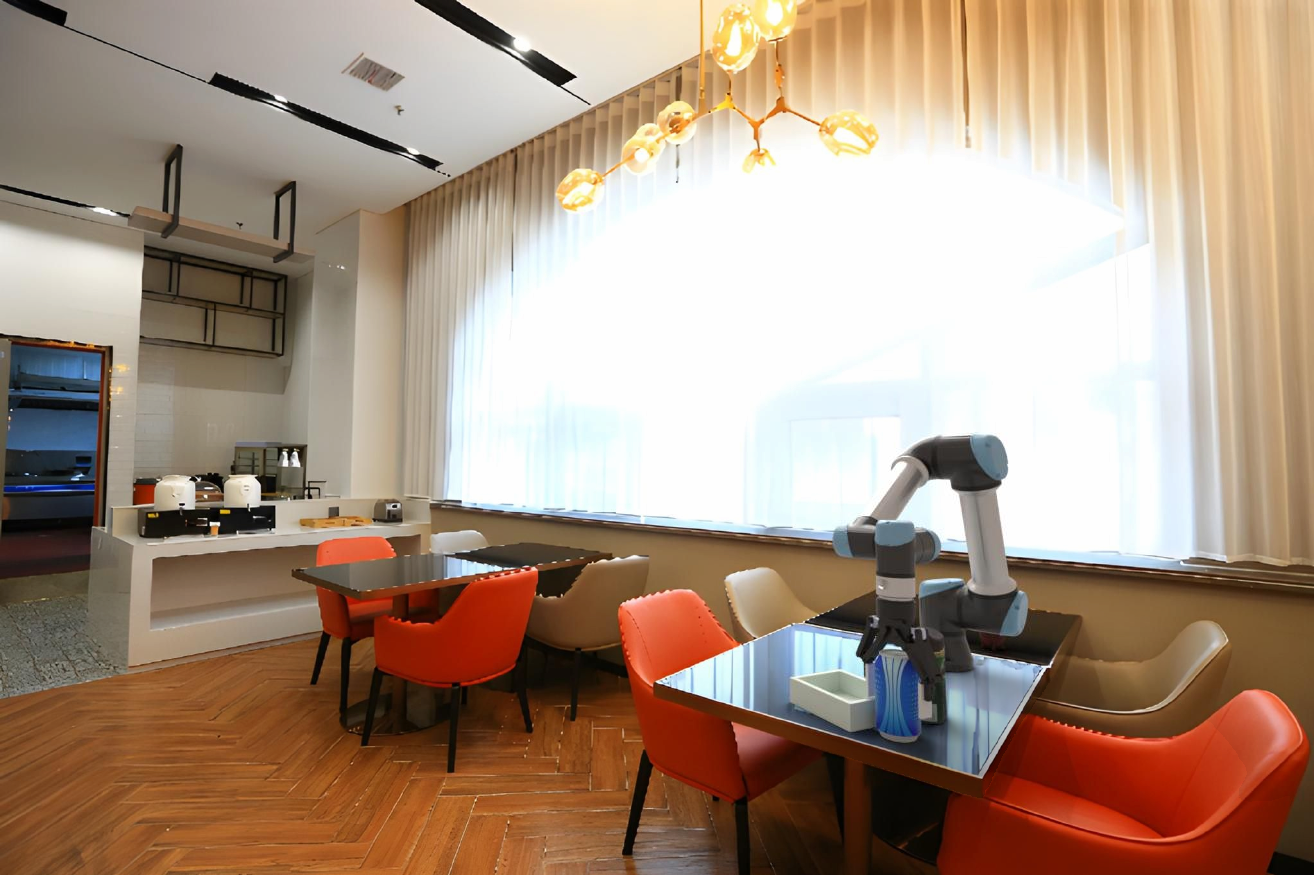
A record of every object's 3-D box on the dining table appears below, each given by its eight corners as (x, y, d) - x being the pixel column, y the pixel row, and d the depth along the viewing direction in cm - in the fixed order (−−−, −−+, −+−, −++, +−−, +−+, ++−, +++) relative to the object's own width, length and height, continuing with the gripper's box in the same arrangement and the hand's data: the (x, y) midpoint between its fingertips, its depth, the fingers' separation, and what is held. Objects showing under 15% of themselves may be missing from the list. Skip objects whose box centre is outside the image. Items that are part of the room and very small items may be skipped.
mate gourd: (978, 644, 196) (976, 595, 197) (1006, 646, 193) (1005, 597, 194) (981, 650, 189) (980, 599, 190) (1011, 652, 186) (1009, 601, 187)
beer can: (917, 748, 119) (914, 661, 120) (871, 738, 124) (869, 655, 125) (924, 733, 126) (922, 651, 127) (881, 724, 131) (879, 645, 132)
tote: (840, 692, 150) (840, 669, 151) (904, 720, 133) (904, 693, 133) (789, 702, 144) (789, 677, 144) (850, 732, 126) (849, 704, 127)
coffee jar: (910, 707, 141) (908, 622, 142) (949, 714, 137) (946, 626, 138) (902, 721, 133) (900, 631, 134) (943, 728, 128) (940, 636, 130)
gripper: (838, 589, 136) (839, 689, 135) (933, 610, 114) (936, 731, 112) (864, 587, 140) (865, 685, 138) (962, 607, 117) (965, 725, 116)
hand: (897, 706), depth 125 cm, fingers open, 13 cm apart
